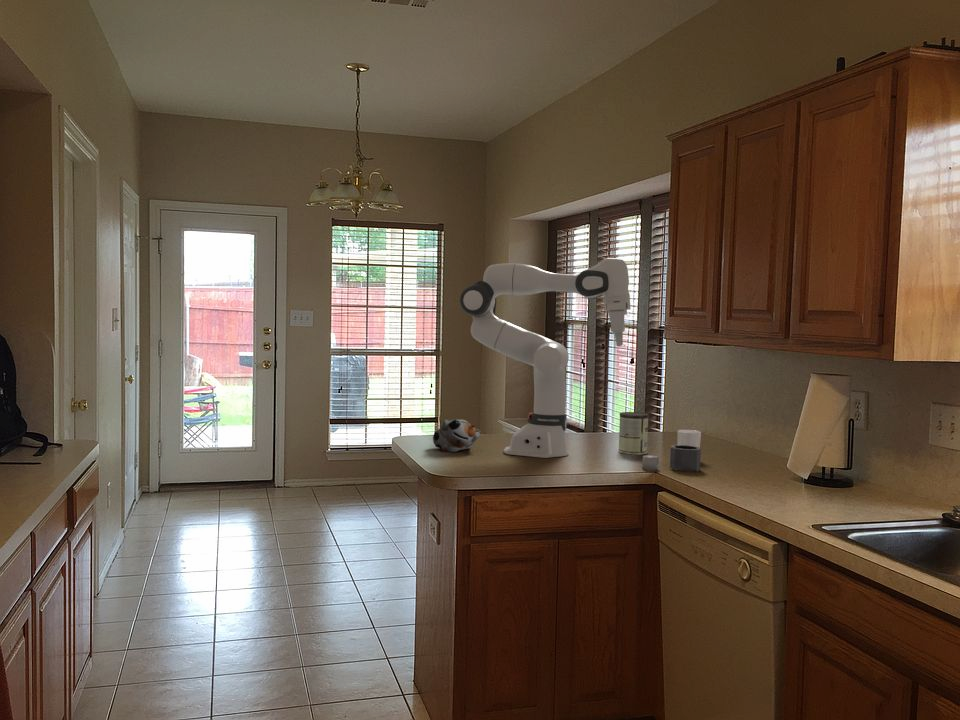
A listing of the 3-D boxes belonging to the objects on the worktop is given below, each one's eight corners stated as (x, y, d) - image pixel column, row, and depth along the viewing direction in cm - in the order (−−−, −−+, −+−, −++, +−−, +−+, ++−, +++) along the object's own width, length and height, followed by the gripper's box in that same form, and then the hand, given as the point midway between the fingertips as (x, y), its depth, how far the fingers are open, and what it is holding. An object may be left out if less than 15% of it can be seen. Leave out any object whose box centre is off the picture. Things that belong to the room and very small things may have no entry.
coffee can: (617, 449, 308) (618, 411, 307) (645, 450, 307) (647, 412, 306) (619, 454, 298) (620, 414, 297) (648, 455, 297) (650, 415, 296)
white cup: (700, 462, 285) (701, 433, 285) (676, 461, 287) (677, 432, 286) (699, 458, 293) (700, 430, 293) (675, 457, 295) (677, 429, 294)
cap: (642, 469, 269) (643, 457, 269) (642, 467, 274) (642, 455, 274) (658, 470, 268) (658, 458, 268) (658, 468, 273) (658, 456, 273)
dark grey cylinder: (670, 470, 269) (671, 448, 269) (669, 465, 278) (670, 444, 278) (700, 472, 267) (701, 450, 267) (698, 467, 276) (699, 446, 276)
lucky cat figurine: (471, 446, 303) (484, 415, 297) (470, 465, 293) (483, 433, 287) (432, 434, 301) (444, 402, 296) (429, 452, 291) (442, 419, 285)
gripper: (609, 306, 297) (611, 345, 297) (606, 305, 277) (609, 347, 277) (627, 305, 296) (629, 344, 296) (625, 304, 275) (628, 346, 276)
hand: (619, 345), depth 287 cm, fingers open, 8 cm apart
